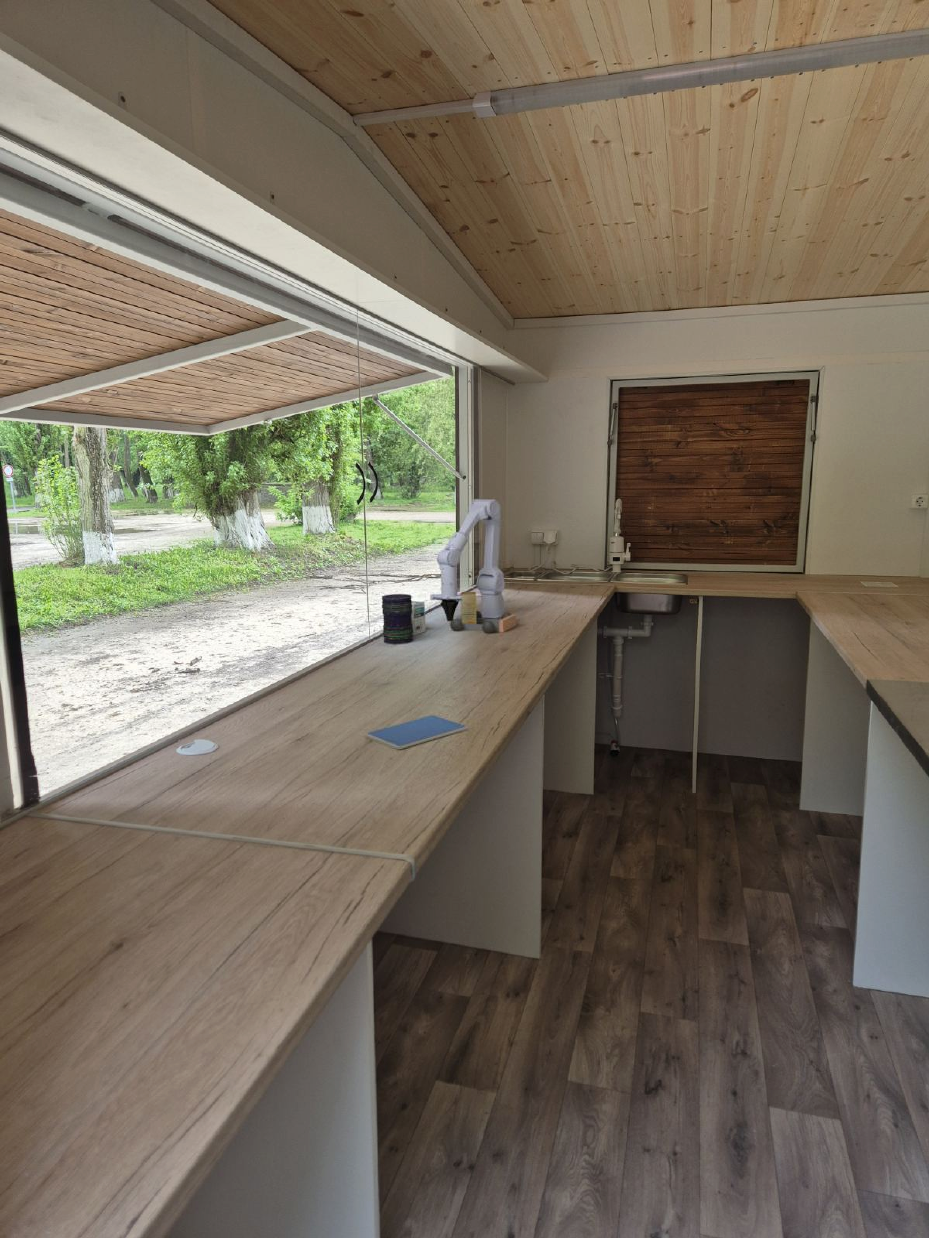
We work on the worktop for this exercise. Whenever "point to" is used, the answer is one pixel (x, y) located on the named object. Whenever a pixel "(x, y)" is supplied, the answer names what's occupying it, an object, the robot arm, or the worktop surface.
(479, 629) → the chassis
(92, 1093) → the worktop surface
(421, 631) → the light bulb box
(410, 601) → the storage jar
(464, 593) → the shoe polish box
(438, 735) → the tablet computer
